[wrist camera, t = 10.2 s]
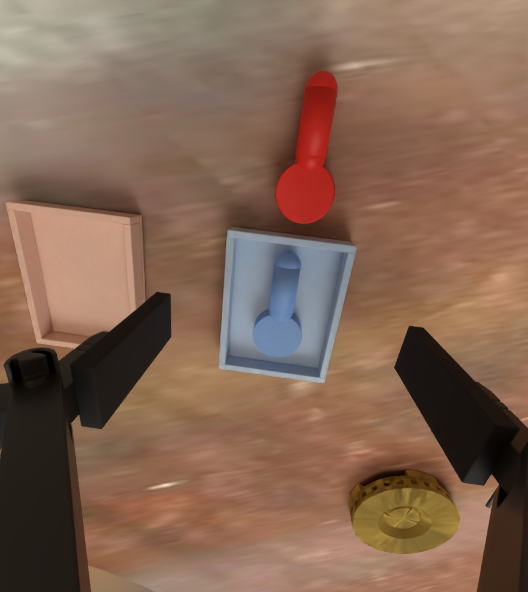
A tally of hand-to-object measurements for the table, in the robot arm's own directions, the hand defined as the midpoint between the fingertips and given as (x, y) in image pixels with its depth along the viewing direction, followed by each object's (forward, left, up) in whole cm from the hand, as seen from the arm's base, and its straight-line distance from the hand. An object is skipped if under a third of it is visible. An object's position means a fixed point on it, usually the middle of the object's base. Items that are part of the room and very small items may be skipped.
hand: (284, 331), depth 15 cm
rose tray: (+3, -18, -10) cm, 21 cm away
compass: (+27, +18, -10) cm, 34 cm away
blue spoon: (+2, 0, -10) cm, 10 cm away
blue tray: (+3, 0, -10) cm, 11 cm away
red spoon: (-10, 0, -10) cm, 14 cm away
